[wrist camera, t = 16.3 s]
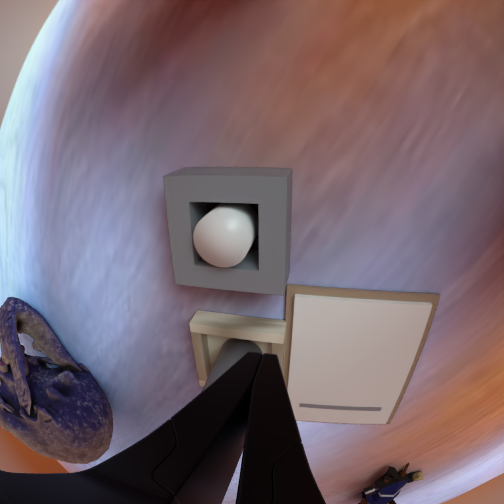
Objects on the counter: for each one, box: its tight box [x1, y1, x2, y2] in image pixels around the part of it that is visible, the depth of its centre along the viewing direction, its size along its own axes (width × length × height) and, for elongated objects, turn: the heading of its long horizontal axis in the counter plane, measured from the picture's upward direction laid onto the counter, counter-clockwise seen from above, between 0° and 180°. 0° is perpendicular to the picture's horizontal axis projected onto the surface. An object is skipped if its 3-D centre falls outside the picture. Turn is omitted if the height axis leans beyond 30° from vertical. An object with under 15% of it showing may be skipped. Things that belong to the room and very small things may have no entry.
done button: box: [193, 202, 259, 267], centre depth 19 cm, size 3×3×3 cm
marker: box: [202, 338, 263, 391], centre depth 21 cm, size 3×3×7 cm
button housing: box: [163, 167, 292, 295], centre depth 19 cm, size 7×7×3 cm
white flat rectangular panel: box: [283, 284, 440, 424], centre depth 23 cm, size 11×15×1 cm
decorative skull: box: [0, 297, 113, 464], centre depth 28 cm, size 12×18×20 cm
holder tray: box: [189, 310, 287, 387], centre depth 24 cm, size 7×7×2 cm
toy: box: [358, 463, 423, 504], centre depth 30 cm, size 9×6×15 cm
